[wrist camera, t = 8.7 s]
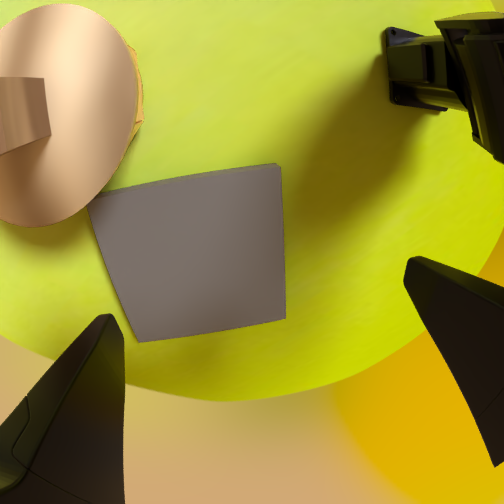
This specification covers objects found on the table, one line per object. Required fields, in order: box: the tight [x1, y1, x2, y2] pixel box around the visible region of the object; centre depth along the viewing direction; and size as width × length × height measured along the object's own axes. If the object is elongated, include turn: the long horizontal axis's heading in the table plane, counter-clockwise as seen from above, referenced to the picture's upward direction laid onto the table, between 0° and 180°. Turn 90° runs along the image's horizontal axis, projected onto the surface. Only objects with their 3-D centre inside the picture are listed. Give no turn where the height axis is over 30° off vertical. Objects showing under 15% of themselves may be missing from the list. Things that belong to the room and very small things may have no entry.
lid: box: [0, 4, 139, 227], centre depth 8 cm, size 12×12×5 cm
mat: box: [86, 163, 286, 343], centre depth 21 cm, size 13×13×1 cm
